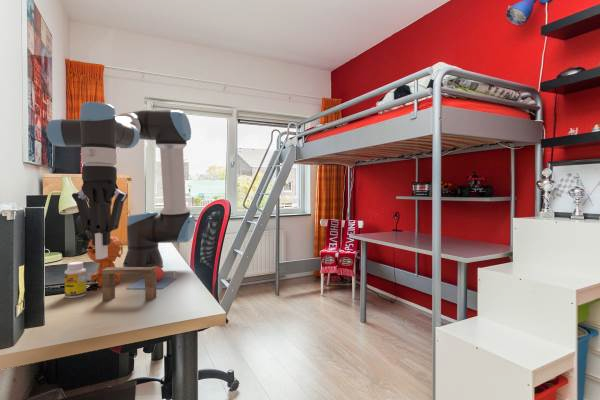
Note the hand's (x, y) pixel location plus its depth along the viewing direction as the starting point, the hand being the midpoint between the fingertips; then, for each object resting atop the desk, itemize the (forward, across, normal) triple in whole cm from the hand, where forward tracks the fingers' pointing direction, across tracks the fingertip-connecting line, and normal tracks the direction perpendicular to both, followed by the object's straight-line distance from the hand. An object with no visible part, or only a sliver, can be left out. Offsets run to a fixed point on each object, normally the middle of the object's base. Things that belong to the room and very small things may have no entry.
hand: (101, 257), depth 82 cm
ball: (+13, 0, +32) cm, 34 cm away
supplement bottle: (+16, -18, +16) cm, 29 cm away
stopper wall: (+16, 0, +36) cm, 39 cm away
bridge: (+16, 0, +14) cm, 21 cm away
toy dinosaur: (+16, -16, +28) cm, 36 cm away
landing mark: (+16, 0, +29) cm, 33 cm away
